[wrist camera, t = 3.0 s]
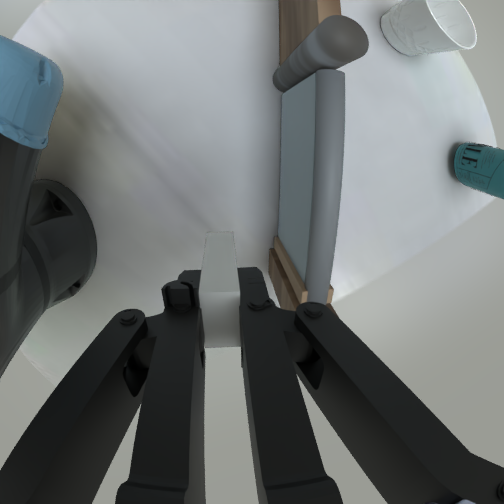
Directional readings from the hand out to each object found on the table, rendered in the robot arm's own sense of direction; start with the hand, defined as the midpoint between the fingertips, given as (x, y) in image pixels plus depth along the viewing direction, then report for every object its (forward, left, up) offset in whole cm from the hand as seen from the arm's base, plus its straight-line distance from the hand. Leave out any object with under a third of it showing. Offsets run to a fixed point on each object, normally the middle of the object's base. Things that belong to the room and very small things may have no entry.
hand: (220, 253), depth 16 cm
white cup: (+22, +23, -13) cm, 34 cm away
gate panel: (+7, +3, -12) cm, 14 cm away
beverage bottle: (+33, +7, -13) cm, 36 cm away
